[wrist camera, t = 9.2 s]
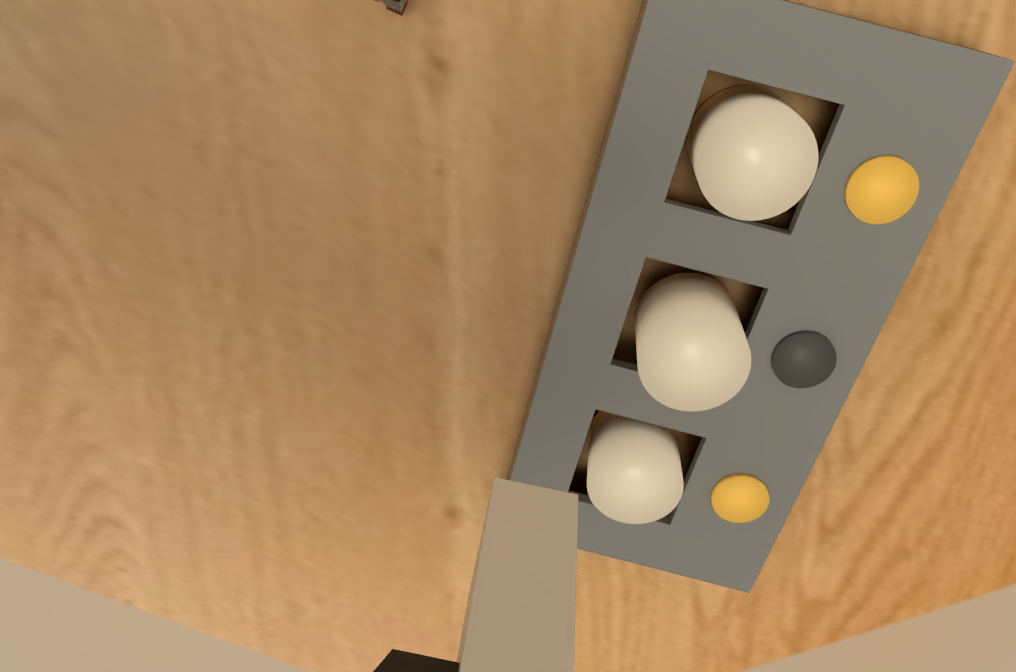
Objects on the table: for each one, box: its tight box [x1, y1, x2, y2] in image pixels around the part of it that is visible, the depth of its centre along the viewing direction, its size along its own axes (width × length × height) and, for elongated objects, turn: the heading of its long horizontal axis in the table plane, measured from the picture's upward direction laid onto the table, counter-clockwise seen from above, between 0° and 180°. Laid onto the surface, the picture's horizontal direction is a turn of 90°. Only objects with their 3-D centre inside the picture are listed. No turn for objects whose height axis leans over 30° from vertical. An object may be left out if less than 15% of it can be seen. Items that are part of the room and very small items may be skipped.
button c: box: [687, 85, 818, 221], centre depth 29 cm, size 4×4×4 cm
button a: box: [587, 410, 684, 524], centre depth 35 cm, size 4×4×4 cm
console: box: [507, 0, 1015, 593], centre depth 33 cm, size 12×24×3 cm, turn 167°
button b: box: [635, 273, 751, 412], centre depth 30 cm, size 4×4×4 cm
